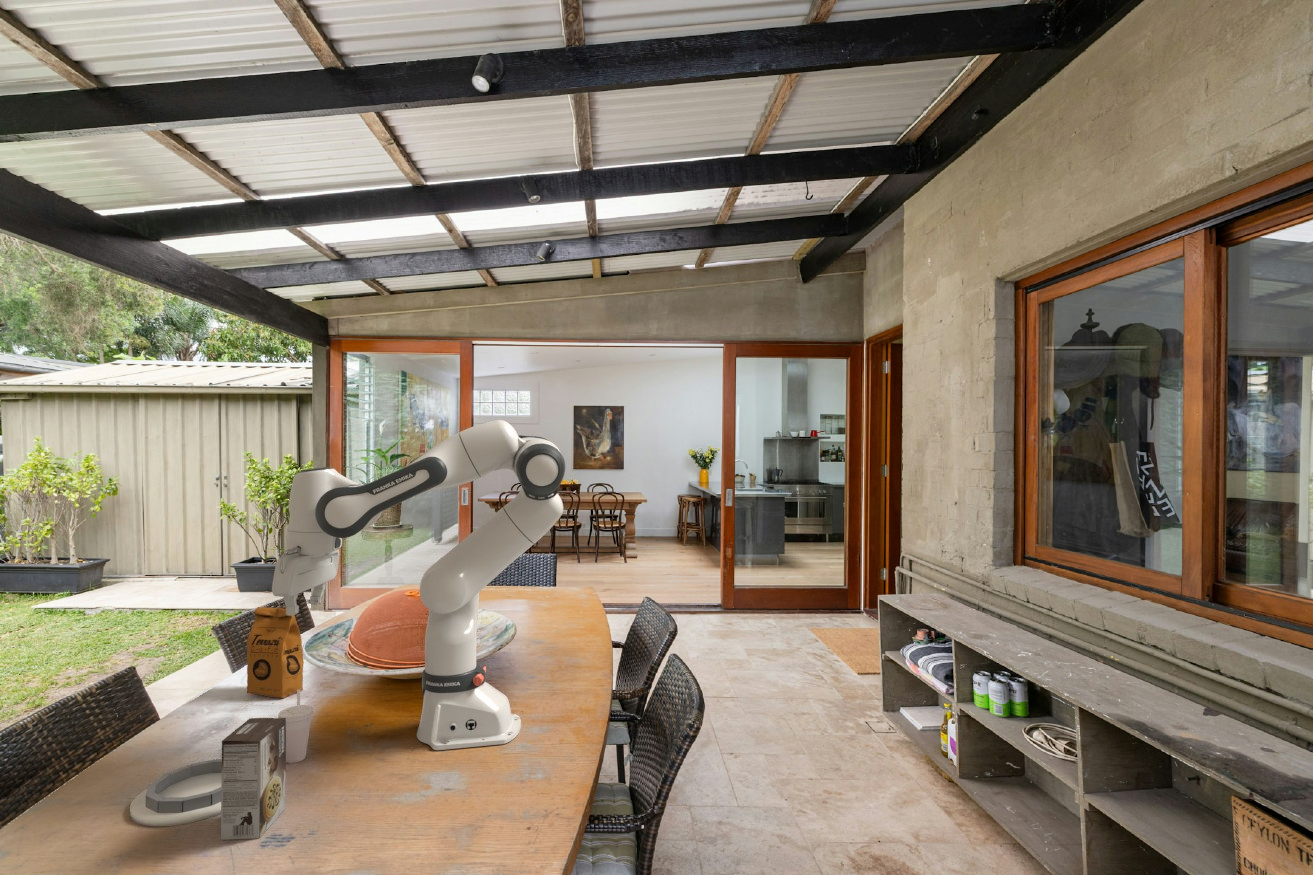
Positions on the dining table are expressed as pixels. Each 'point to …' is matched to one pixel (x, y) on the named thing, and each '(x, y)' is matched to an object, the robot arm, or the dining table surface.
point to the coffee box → (253, 778)
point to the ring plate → (181, 796)
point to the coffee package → (274, 654)
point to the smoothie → (297, 730)
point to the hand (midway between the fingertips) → (304, 609)
